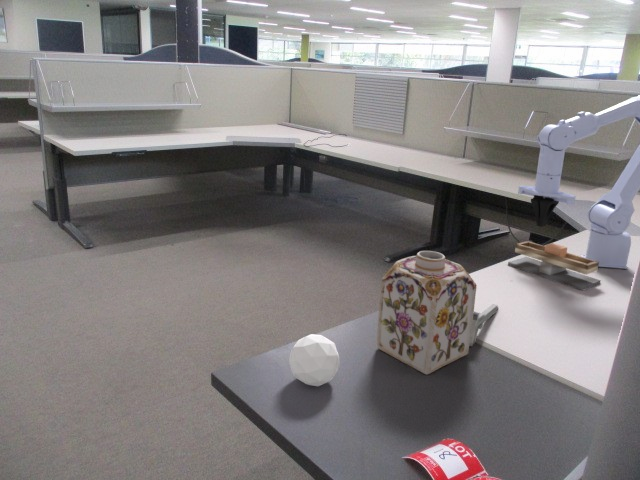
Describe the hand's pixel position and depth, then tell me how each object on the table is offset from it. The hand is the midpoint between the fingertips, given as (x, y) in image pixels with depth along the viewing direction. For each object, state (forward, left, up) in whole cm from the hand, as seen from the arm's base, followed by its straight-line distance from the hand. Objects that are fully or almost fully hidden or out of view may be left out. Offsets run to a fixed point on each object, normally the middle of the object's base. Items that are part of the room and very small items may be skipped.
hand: (541, 225), depth 138 cm
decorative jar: (+31, +55, -10) cm, 64 cm away
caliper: (+19, +42, -11) cm, 47 cm away
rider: (-2, +8, -5) cm, 10 cm away
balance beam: (-2, +8, -10) cm, 13 cm away
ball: (+48, +68, -10) cm, 84 cm away
